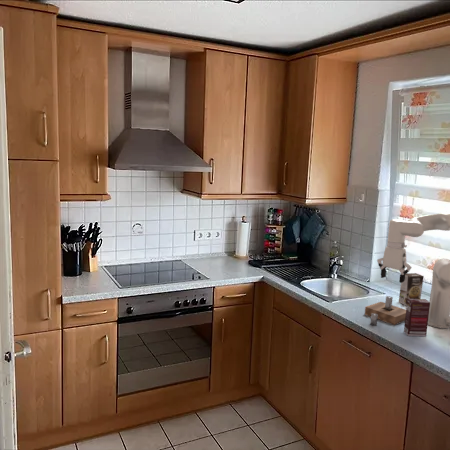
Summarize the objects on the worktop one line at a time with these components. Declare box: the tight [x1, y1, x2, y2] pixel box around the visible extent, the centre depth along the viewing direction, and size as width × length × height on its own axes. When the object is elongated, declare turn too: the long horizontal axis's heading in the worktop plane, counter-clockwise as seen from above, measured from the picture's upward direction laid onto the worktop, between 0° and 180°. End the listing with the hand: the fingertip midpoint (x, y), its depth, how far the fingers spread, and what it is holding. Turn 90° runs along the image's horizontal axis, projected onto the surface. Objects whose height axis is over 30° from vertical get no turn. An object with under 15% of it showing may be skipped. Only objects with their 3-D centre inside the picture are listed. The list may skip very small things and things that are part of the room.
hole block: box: [364, 301, 406, 326], centre depth 229 cm, size 16×14×4 cm
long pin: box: [384, 296, 394, 311], centre depth 228 cm, size 3×3×10 cm
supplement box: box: [403, 298, 430, 337], centre depth 208 cm, size 9×5×16 cm, turn 92°
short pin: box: [369, 313, 379, 327], centre depth 218 cm, size 3×3×5 cm
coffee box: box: [398, 272, 425, 307], centre depth 250 cm, size 9×6×16 cm
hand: (392, 279), depth 226 cm, fingers open, 9 cm apart
